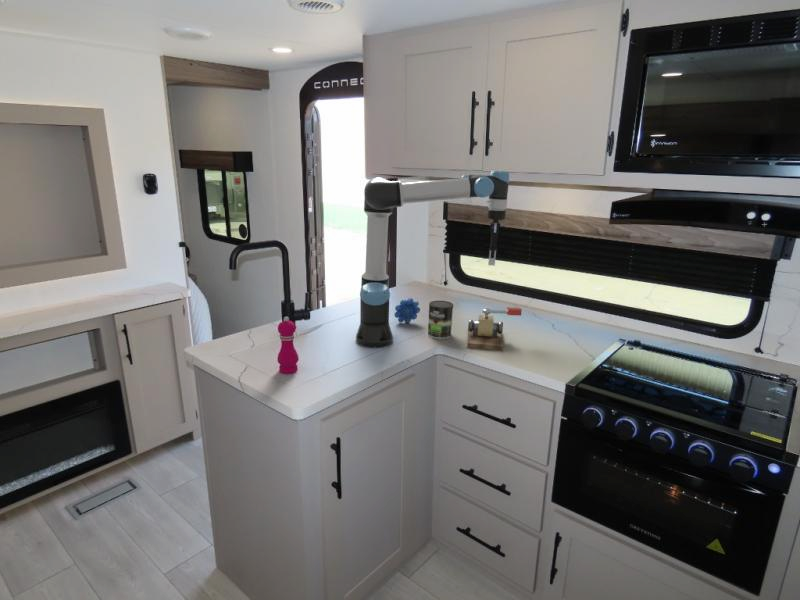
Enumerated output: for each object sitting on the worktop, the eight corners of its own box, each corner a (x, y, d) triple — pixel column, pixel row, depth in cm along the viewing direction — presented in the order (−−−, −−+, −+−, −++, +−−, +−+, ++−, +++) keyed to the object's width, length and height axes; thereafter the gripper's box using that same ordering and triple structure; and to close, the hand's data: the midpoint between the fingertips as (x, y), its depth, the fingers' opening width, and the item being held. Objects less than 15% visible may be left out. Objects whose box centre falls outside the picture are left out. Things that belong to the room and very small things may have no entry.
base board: (467, 347, 196) (467, 343, 196) (467, 330, 215) (468, 326, 215) (502, 350, 194) (502, 345, 194) (500, 333, 213) (500, 328, 213)
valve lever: (483, 314, 200) (483, 308, 199) (482, 311, 203) (482, 306, 202) (521, 315, 199) (521, 310, 199) (519, 313, 202) (520, 307, 202)
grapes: (419, 320, 227) (420, 295, 223) (419, 325, 220) (420, 299, 217) (394, 319, 227) (395, 295, 223) (394, 324, 220) (394, 299, 217)
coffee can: (446, 341, 203) (447, 309, 198) (423, 336, 207) (425, 304, 203) (455, 333, 211) (457, 302, 207) (433, 329, 216) (435, 298, 212)
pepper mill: (300, 366, 175) (298, 313, 169) (297, 374, 168) (295, 320, 162) (280, 365, 175) (277, 313, 169) (276, 374, 168) (273, 320, 162)
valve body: (467, 336, 202) (469, 314, 199) (467, 331, 208) (469, 309, 205) (501, 339, 200) (504, 316, 197) (501, 334, 206) (503, 312, 203)
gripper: (487, 207, 208) (482, 261, 215) (487, 210, 195) (482, 267, 202) (505, 208, 207) (500, 262, 213) (506, 211, 194) (500, 269, 201)
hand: (491, 264), depth 208 cm, fingers closed
